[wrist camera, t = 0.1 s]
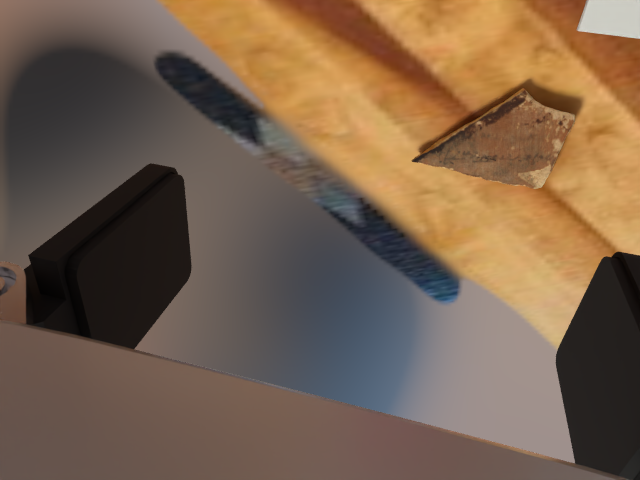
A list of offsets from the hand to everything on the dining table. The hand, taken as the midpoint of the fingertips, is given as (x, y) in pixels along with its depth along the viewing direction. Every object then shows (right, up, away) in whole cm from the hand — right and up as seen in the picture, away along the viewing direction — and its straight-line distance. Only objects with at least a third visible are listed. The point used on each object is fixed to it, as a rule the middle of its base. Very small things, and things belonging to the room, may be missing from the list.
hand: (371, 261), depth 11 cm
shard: (+14, +8, +30) cm, 34 cm away
